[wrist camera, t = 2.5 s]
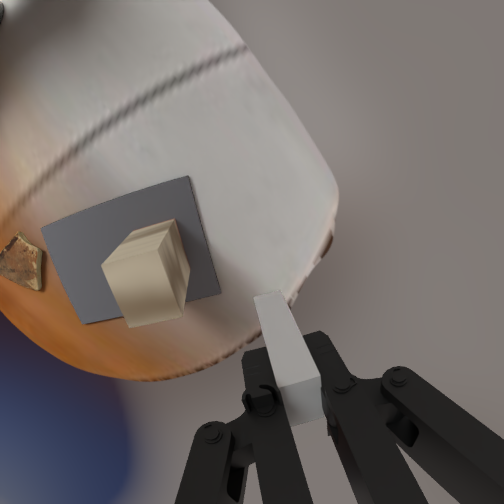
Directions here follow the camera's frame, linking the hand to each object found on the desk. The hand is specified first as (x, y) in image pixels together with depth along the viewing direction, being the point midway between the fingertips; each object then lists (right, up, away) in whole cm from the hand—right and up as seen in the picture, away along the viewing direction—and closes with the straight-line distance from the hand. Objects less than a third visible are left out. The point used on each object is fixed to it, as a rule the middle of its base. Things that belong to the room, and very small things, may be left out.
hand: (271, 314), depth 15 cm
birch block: (-11, +4, +15) cm, 19 cm away
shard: (-33, +1, +14) cm, 36 cm away
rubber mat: (-16, +3, +15) cm, 22 cm away
